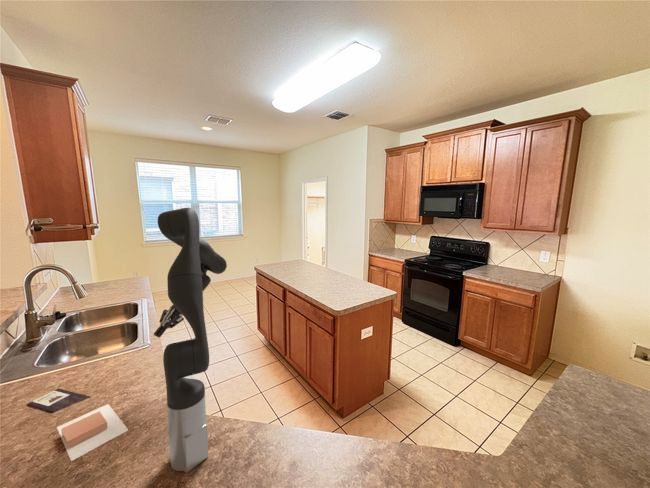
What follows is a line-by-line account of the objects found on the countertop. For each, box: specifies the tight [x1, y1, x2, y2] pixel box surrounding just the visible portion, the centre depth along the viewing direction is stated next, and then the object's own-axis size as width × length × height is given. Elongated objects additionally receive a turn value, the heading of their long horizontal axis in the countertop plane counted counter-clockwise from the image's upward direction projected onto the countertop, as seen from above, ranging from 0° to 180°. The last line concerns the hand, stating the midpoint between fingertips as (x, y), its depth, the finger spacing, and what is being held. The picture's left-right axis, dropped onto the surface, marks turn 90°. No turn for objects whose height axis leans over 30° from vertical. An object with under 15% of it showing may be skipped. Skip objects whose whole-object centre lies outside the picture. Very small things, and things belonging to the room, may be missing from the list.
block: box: [61, 411, 107, 448], centre depth 80 cm, size 8×2×9 cm
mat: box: [56, 403, 129, 462], centre depth 81 cm, size 20×13×1 cm, turn 54°
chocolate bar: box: [26, 388, 91, 414], centre depth 95 cm, size 9×1×18 cm
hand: (156, 336), depth 95 cm, fingers closed
